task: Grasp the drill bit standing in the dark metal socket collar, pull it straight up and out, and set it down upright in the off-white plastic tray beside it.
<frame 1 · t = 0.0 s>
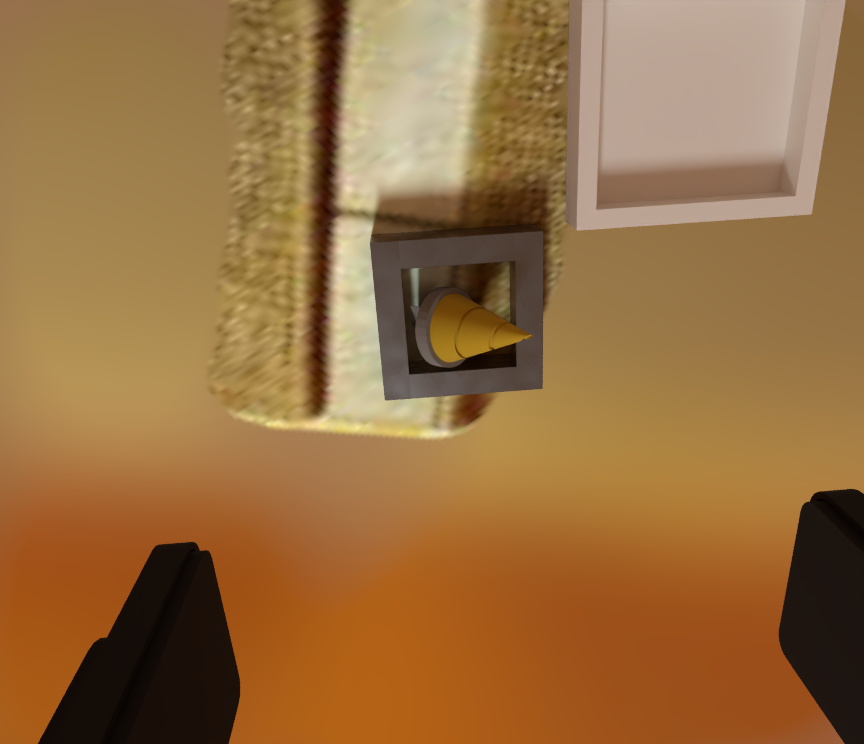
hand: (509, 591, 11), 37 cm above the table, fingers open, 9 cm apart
tray: (686, 93, 43), on the table
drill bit: (457, 307, 48), on the table
socket collar: (457, 308, 47), on the table
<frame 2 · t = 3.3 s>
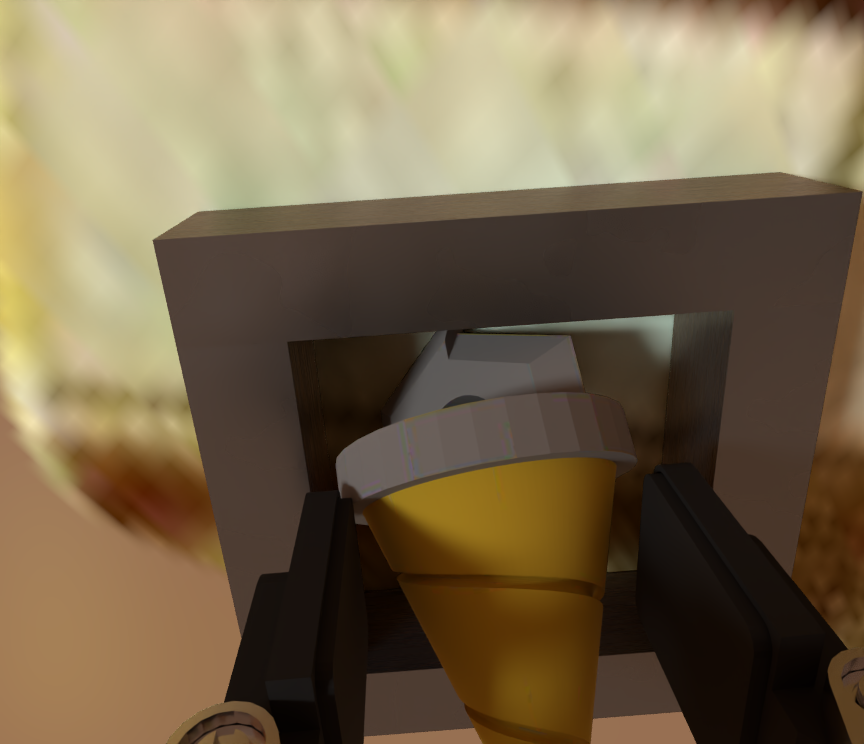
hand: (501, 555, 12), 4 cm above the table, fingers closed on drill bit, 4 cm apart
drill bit: (498, 442, 15), on the table, touching gripper
socket collar: (497, 447, 15), on the table
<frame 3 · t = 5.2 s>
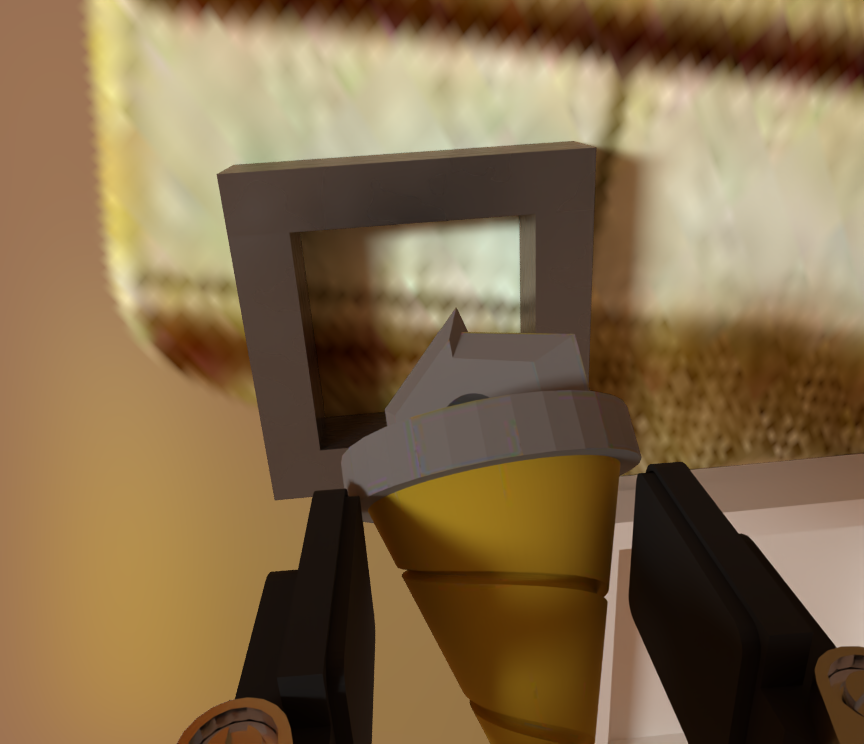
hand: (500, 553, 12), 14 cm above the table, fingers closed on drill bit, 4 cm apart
tray: (727, 608, 31), on the table
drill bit: (501, 440, 15), point 10 cm above the table, touching gripper
socket collar: (417, 315, 24), on the table
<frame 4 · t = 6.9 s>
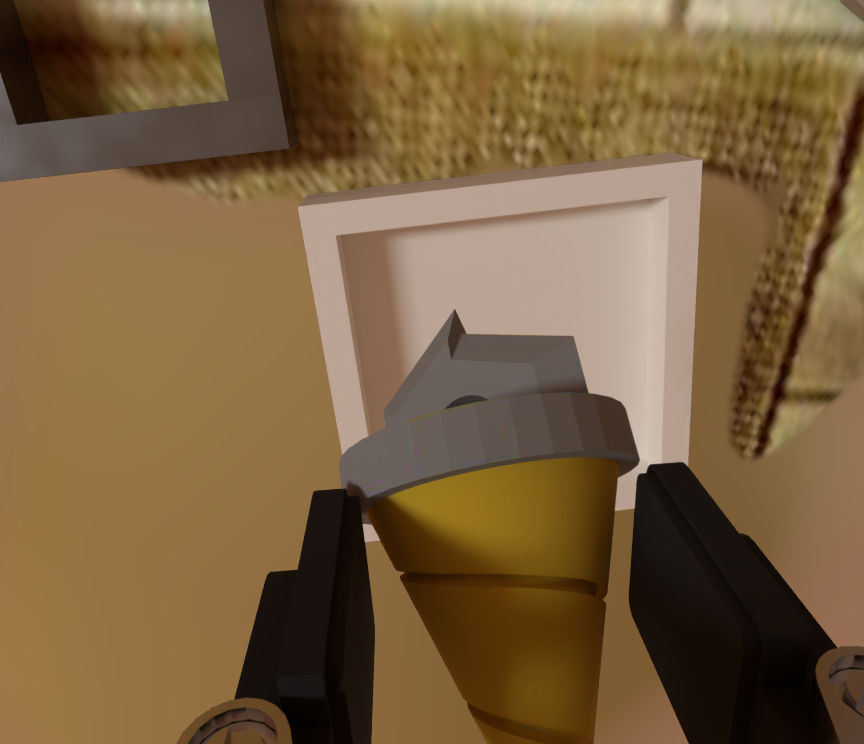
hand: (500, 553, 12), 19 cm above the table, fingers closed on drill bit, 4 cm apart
tray: (501, 345, 31), on the table
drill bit: (500, 442, 15), point 15 cm above the table, touching gripper
socket collar: (119, 2, 25), on the table
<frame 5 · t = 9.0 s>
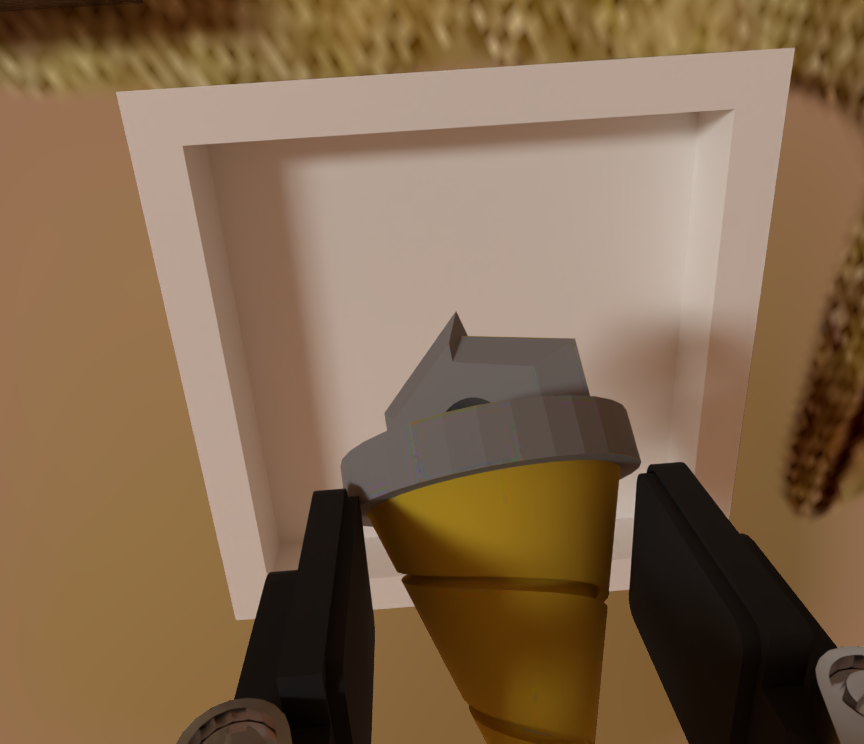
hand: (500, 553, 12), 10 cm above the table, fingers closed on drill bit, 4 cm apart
tray: (461, 339, 21), on the table
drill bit: (501, 444, 15), point 6 cm above the table, touching gripper
when the fingers open (6 cm above the table, at t = 10.5 s): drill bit drops 2 cm, resting on tray.
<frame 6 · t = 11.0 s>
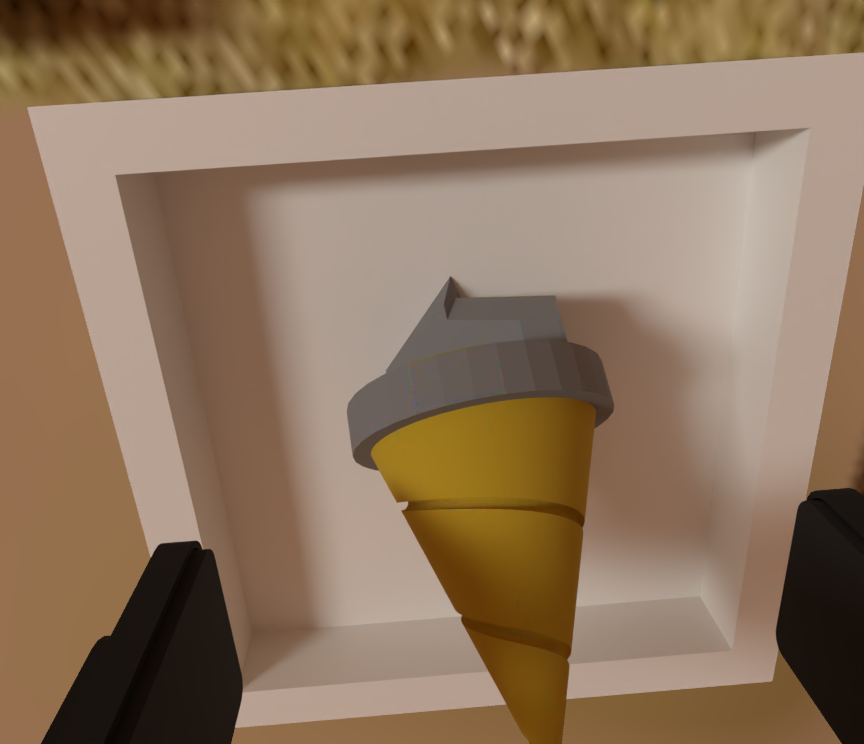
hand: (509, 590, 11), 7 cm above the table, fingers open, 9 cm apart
tray: (465, 396, 17), on the table
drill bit: (492, 401, 17), point 1 cm above the table, touching tray
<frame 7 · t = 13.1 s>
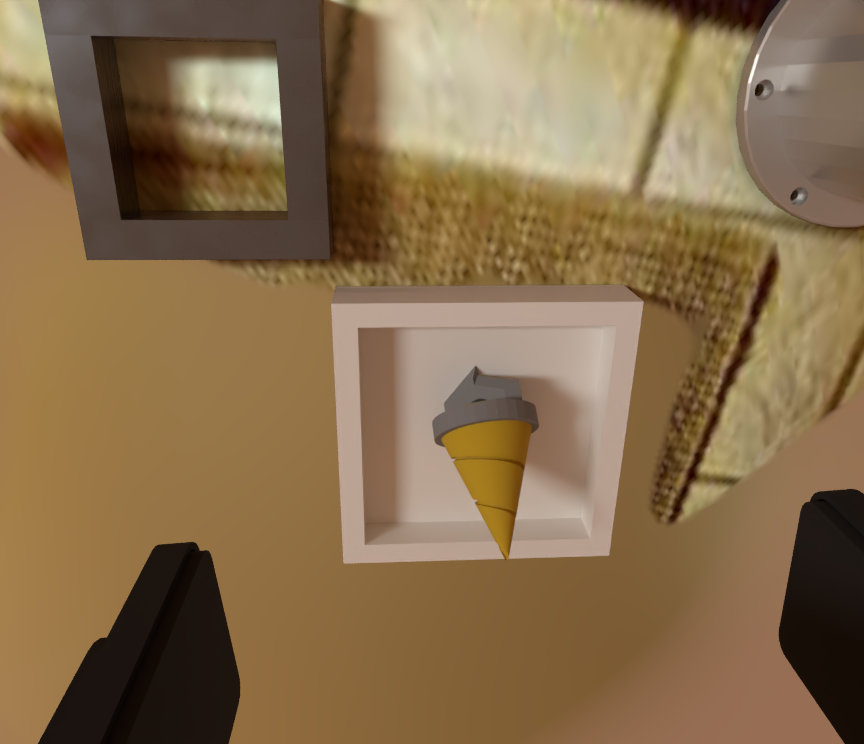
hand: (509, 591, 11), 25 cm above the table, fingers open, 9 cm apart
tray: (476, 415, 38), on the table
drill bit: (488, 418, 37), point 1 cm above the table, touching tray
socket collar: (209, 129, 31), on the table
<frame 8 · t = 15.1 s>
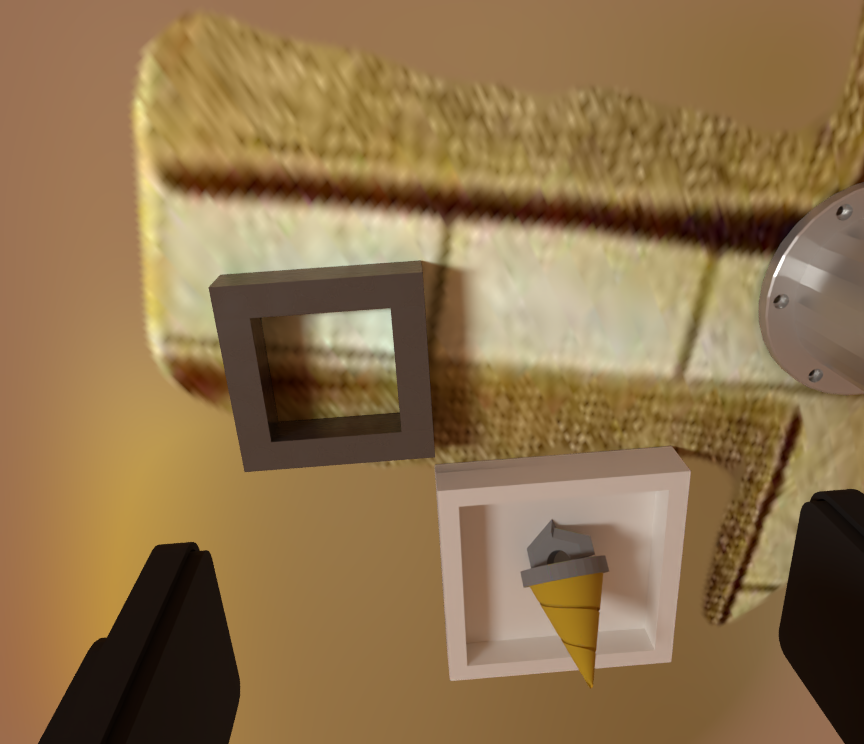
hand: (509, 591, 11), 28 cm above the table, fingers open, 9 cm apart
tray: (552, 552, 46), on the table
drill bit: (564, 557, 45), point 1 cm above the table, touching tray
socket collar: (332, 360, 39), on the table
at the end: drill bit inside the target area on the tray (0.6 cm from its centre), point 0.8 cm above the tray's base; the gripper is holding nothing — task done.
